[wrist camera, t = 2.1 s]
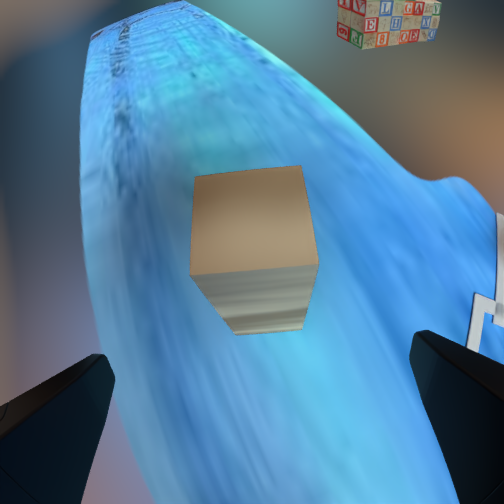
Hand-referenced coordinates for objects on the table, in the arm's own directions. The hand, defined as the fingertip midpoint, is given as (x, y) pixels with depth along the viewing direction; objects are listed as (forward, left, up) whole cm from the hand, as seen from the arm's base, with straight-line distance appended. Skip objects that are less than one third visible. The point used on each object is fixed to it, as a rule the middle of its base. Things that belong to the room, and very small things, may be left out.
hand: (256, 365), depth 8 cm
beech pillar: (+5, +3, -12) cm, 13 cm away
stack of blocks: (+56, -1, -13) cm, 58 cm away
